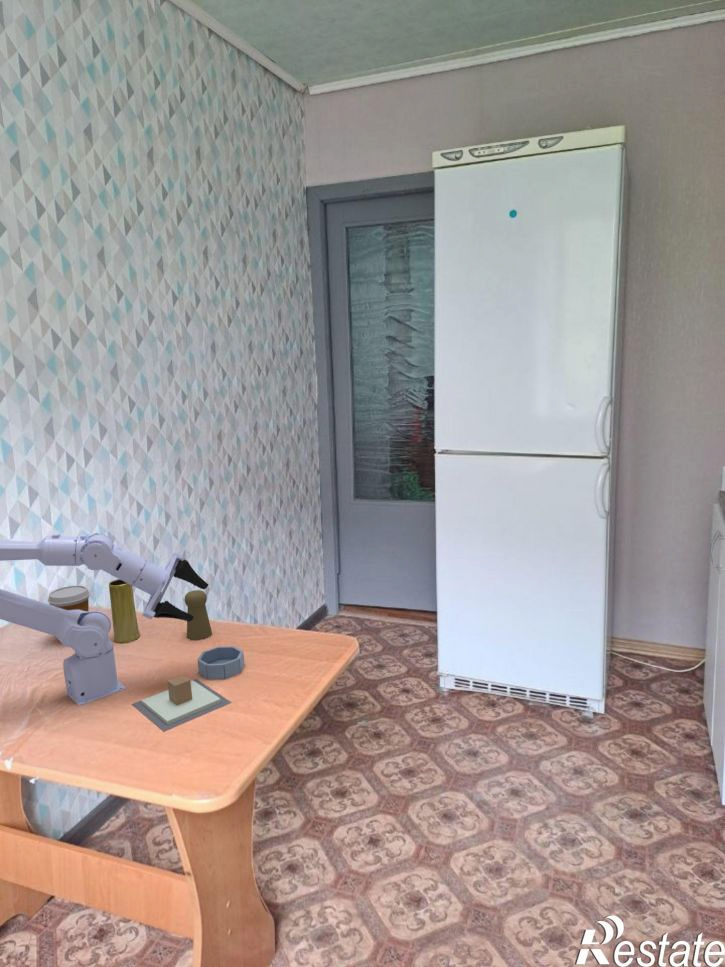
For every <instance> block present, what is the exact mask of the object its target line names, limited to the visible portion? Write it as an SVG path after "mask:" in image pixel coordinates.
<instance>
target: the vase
mask: <svg viewBox="0 0 725 967" xmlns="http://www.w3.org/2000/svg"><path fill="white" fill-rule="evenodd" d="M108 590H109V591H108V592H109V598H110V599H109V600H110V607H111V608H110V609H111V620H112V621H111V622H112V629H113V641H114V642H115V643H118V644H119V643H120V644H125V643H130V642H133V641H136V640H137V639H139V638H140V637H141V633H140V631H139V625H138V618H137V612H136V605H135V604H136V603H135V598H134V590H133V586H132V585H130V584H128V583H126V582H124V581H122V580H120V579H118V578H117V579H114V580H111V581H109V582H108Z"/></svg>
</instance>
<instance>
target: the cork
mask: <svg viewBox="0 0 725 967" xmlns="http://www.w3.org/2000/svg"><path fill="white" fill-rule="evenodd" d="M207 600H208V597H207V593H206V592H205V591H203V590H202V589H201V590H200V589H199V590H198V589H197V590H196V589H195V590H191V591H188V592H187V593H186V594H185V596H184V603H185V605H186V606H187V612H186V613H189V614H191V615H192V616H194V618H193V620H192V621H190V622H188V621H186V622H187V623H186V638H188V640H189V639H190V641H201V639H202V640H205V638H206V639H209V637H211V636H212V635H213V631H212V627H211V622H210V619H209V618H210V617H209V615H208V610H207V606H206V603H207Z"/></svg>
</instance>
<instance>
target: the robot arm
mask: <svg viewBox="0 0 725 967" xmlns="http://www.w3.org/2000/svg"><path fill="white" fill-rule="evenodd" d="M183 558H184V555H183V554H181V553H179V552H177V551H175V552H174V553H173V554H172V555H171V557H170V560H169V561H168V563H167V565H166V567H165V568H163V567H162V566H159V565H157V564H155V563H154V562H151V561H150V560H148V559H146V558H143V557H142V556H141V555H138V554H136V553H134V552H133V551H130V550H128V549H126V548H123V547H121V546H120V545H118V544H116V543H115V544H114V542H113V540H112V538H111V537H109V536H108V535H106V534H103V533H99V532H98V533H97V532H94V533H92V534H90V535H87V534H85V533H83V534H82V533H81V534H80V536H75V535H74V536H70V535H69V536H66V535H64V536H62V535H61V533H60V532H53V533H52V535H48V536H47V535H46V536H45V537H44V538H43V539H41V540H40V541H25V540H24V541H23V540H22V541H20V540H3V539H0V562H2V561H23V560H24V561H25V560H26V561H27V560H29V561H30V560H37V561H39V562H40V563H41V564H43V565H44V566H45V567H47V566H49V567H52V566H53V567H54V566H57V567H58V566H59V567H60V566H61V567H64V566H65V567H73V566H74V567H75V566H76V567H77V566H78V567H80V566H83V565H85V566H86V569H88V570H91V571H100V570H101V571H103V572H106V574H109V575H111V576H113V577H114V578H117V579H120V580H122V581H124V582H126V583H128V584H130V585H132V587H135V588H136V589H139V590H140V591H142V592H145V593H146V594H148V595H150V597H149V599H148V601H147V604H146V607H145V608H144V609H143V613H142V614H141V615H142V616H143V617H145V618H147V619H149V620H152V619H153V618H156V619H159V618H160V619H164V618H165V619H175V620H176V619H177V620H181V621H184V622H187V621H188V622H190V621H192V620H193V618H194V616H192V615H191V614H189V613H187V612H186V611H184V610H182V609H180V608H178V607H177V606H175V605H173V604H172V603H171V602H169V601H168V600H165V601H162V599H163V598H164V595H165V593H166V591H167V590H168V588H169V586H170V583H171V581H172V579H173V578H176V579H180V580H182V581H185V582H186V583H189V584H191V585H193V586H195V587H197V588H199V589H201V590H206V589H207V588H208V587H209V585H210V584H209V583H208V582H206V581H205V580H204V579H203V578H202V577H201V576H200V575H199V574H198V573H197V572H196V571H195V570H194V569H193V568H194V567H192V565H191V564H190V562H189V561H188V560H187V559H183ZM0 620H2V621H6V622H9V623H12V624H14V625H18V626H21V627H25V628H28V629H31V630H34V631H38V632H40V633H41V632H42V633H44V634H47V635H50V636H54V637H56V639H57V640H58V641H59V642H60V643H61V644H62V646H65V647H68V648H70V649H72V650H73V651H74V654H72V655H70V656H69V657H66V658H65V659H63V662H62V663H63V664H62V667H63V668H62V670H63V673H64V675H63V676H64V682H65V688H66V689H65V690H66V691H65V694H66V695H67V696H68V697H69V698H70V699H71V700H72V701H73V702H74V703H75V704H76V705H78V706H79V707H81V706H83V705H87V704H89V703H91V702H94V701H97V700H100V699H102V698H105V697H108V696H111V695H113V694H117V693H120V692H121V691H124V690H126V688H127V687H126V686H125V685H124V684H123V683H121V682H120V681H119V680H118V674H117V673H118V672H117V666H116V664H117V663H116V658H115V650H114V643H113V641H112V640H110V638H109V633H110V631H111V628H112V621H111V619H110V617H109V616H108V615H107V614H106V613H104V612H103V611H100V610H99V611H98V610H91V611H88V612H87V611H82V610H64V609H61V608H58V607H55V606H52V605H50V604H49V603H45V602H41V601H39V600H35V599H33V598H30V597H26V596H24V595H21V594H17V593H14V592H12V591H9V590H5V589H2V588H0Z"/></svg>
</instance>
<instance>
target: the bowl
mask: <svg viewBox="0 0 725 967" xmlns="http://www.w3.org/2000/svg"><path fill="white" fill-rule="evenodd" d="M196 661H197V668H198V674H199V675H200V676H201V677H203V678H204V679H206V680H227V679H230V678H231V677H234V676H237V675H239V674H241V673H242V671H243V669H244V667H245V665H246V664H245V654H244V650H242V649H241V648H238V647H237V646H233V645H231V646H230V645H229V646H227V645H226V646H216V647H213V648H210V649H207V650H205V651H202V652H201V653H200V655H199V657H198V658H197V660H196Z"/></svg>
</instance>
